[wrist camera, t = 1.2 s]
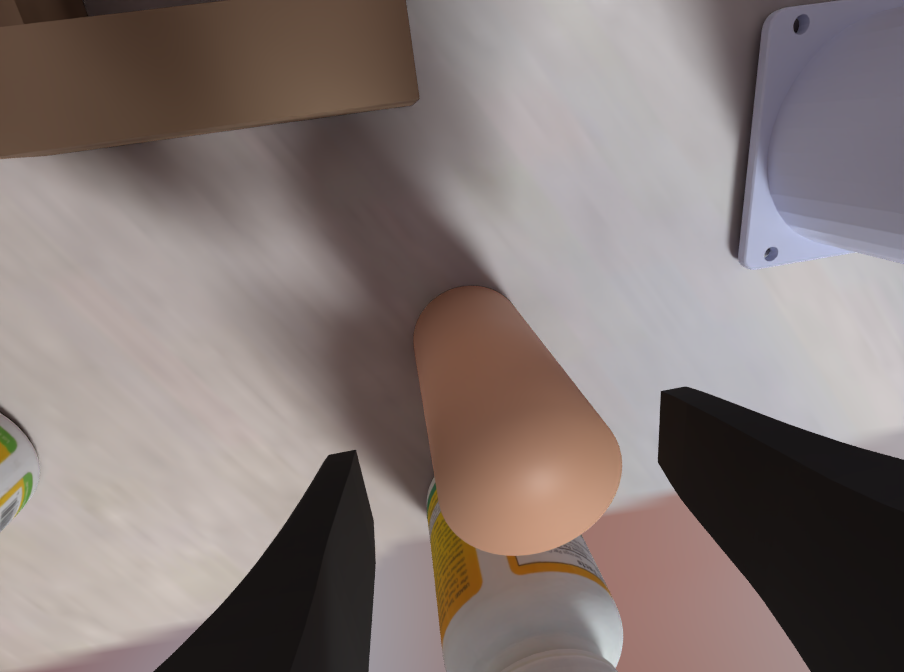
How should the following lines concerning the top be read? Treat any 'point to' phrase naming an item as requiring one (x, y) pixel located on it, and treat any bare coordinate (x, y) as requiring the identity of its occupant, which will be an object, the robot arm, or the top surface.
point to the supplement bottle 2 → (521, 606)
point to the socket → (193, 69)
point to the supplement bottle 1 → (15, 470)
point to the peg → (508, 429)
